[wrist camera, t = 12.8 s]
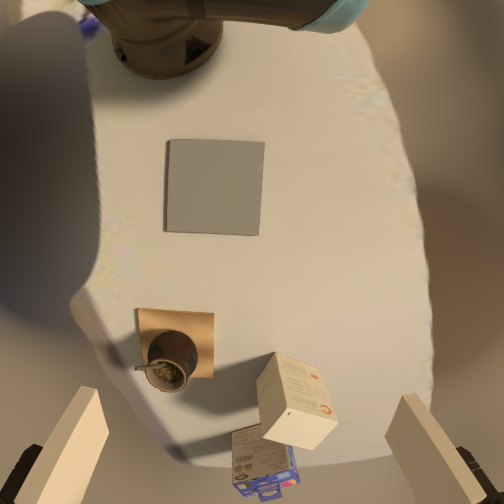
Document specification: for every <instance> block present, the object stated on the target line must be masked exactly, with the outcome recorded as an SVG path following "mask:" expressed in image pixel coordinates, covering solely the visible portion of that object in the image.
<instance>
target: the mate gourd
mask: <svg viewBox="0 0 504 504" xmlns="http://www.w3.org/2000/svg"><path fill="white" fill-rule="evenodd" d="M147 358H148V364H147V365H146V366H136V367H135V371H136V370H143V369H144V370H145V369H146V370H145V374H146V377H147V379H148V381H149V382H150V384H151V385H152V386H154V387H155V388H157V389H159V390H161V391H163V392H177V391H179V390H181V389H183V388H184V387H185V385H186V384H187V380H188V377H189V376H191V375H192V373H193V372H194V371H195V369H196V367H197V363H198V353H197V349H196V346H195V344H194V342H193V340H192V339H191V338H190V337H189V336H188V335H186V334H185V333H183V332H180V331H176V330H171V331H168V332H163V333H161V334H160V335H159V336H157V337H156V338H155V339H154V340H153V341H152V342H151V343H150V346H149V349H148V353H147Z"/></svg>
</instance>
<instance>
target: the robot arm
mask: <svg viewBox="0 0 504 504" xmlns="http://www.w3.org/2000/svg"><path fill="white" fill-rule="evenodd" d="M369 1H370V0H78V2H80V3H81V4H83V5H84V6H85V7H86V8H87V9H88V10H89V11H90V12H91V13H92V14H93V15H94V16H95V17H96V18H97V19H98V20H99V21H100V22H101V23H102V24H103V25H105V26H106V27H107V28H108V29H109V30H110V31H111V34H112V42H113V48H114V51H115V53H116V55H117V57H118V59H119V60H120V61H121V62H122V63H123V64H124V65H125V66H126V67H127V68H128V69H129V70H130V71H132V72H133V73H135V74H137V75H139V76H142V77H145V78H149V79H169V78H174V77H178V76H181V75H184V74H186V73H189V72H191V71H193V70H194V69H196V68H198V67H199V66H201V65H202V64H203V63H204V62H206V61H207V60H208V59H209V58H210V57H211V55H212V54H213V53H214V52H215V50H216V49H217V47H218V45H219V43H220V41H221V38H222V34H223V21H236V22H248V23H258V24H267V25H274V26H282V27H288V29H290V30H292V31H304V30H306V31H312V32H318V33H324V34H331V33H336V32H340V31H343V30H345V29H346V28H348V27H349V26H350V25H352V24H353V23H354V22H355V21H356V20H357V19H358V18H359V16H360V15H361V14H362V12H363V11H364V9H365V8H366V6H367V5H368V3H369ZM108 434H109V431H108V428H107V425H106V421H105V418H104V414H103V411H102V407H101V403H100V400H99V396H98V392H97V389H94V388H89V387H84V386H81V387H80V389H79V390H78V392H77V393H76V395H75V396H74V398H73V400H72V401H71V403H70V404H69V406H68V408H67V409H66V411H65V413H64V414H63V416H62V417H61V419H60V421H59V422H58V424H57V426H56V427H55V429H54V431H53V432H52V434H51V436H50V437H49V439H48V441H47V442H46V444H45V446H44V447H41V446H39V445H36V444H33V445H32V446H30V447H29V448H27V449H26V450H25V451H24V452H23V454H22V455H21V457H20V459H19V462H17V464H16V466H15V469H13V470H12V472H11V474H10V475H9V477H8V479H7V481H6V482H5V484H4V486H3V488H2V490H1V491H0V504H81V501H82V498H83V496H84V493H85V491H86V488H87V486H88V483H89V480H90V478H91V475H92V473H93V470H94V468H95V465H96V463H97V460H98V458H99V455H100V453H101V451H102V448H103V446H104V443H105V441H106V439H107V436H108ZM385 438H386V440H387V442H388V444H389V446H390V448H391V450H392V452H393V454H394V456H395V458H396V460H397V462H398V464H399V466H400V468H401V470H402V472H403V474H404V476H405V478H406V480H407V482H408V484H409V486H410V488H411V490H412V492H413V494H414V496H415V498H416V500H417V502H418V504H504V492H498V491H497V490H496V489H495V488H494V486H493V485H492V483H491V482H490V480H489V479H488V477H487V476H486V474H485V473H484V472H483V470H482V469H480V466H479V464H478V463H477V462H475V459H474V457H473V456H472V455H471V453H470V452H469V451H467V450H466V449H464V448H463V447H461V446H460V447H458V448H455V447H454V446H453V444H452V443H451V441H450V440H449V439H448V437H447V436H446V434H445V433H444V432H443V430H442V429H441V427H440V426H439V425H438V423H437V422H436V420H435V419H434V417H433V416H432V415H431V413H430V412H429V410H428V409H427V408H426V406H425V405H424V404H423V402H422V401H421V399H420V398H419V397H418V395H417V394H416V393H414V394H407V395H402V397H401V400H400V402H399V405H398V407H397V410H396V412H395V414H394V417H393V419H392V422H391V424H390V426H389V428H388V431H387V433H386V435H385Z"/></svg>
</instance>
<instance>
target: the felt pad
mask: <svg viewBox="0 0 504 504" xmlns="http://www.w3.org/2000/svg"><path fill="white" fill-rule="evenodd" d="M264 145H265V143H264V142H249V141H231V140H202V139H170V154H169V174H168V202H167V231H173V232H197V233H219V234H239V235H259V224H260V209H261V193H262V177H263V161H264Z"/></svg>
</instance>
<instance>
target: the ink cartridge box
mask: <svg viewBox="0 0 504 504" xmlns="http://www.w3.org/2000/svg"><path fill="white" fill-rule="evenodd" d="M297 483H300V479H299V475H298V471H297V466H296V462H295V458H294V453H293V448H292V446H291V445H287V444H283V443H279V442H275V441H271V440H268V439H264V438H262V432H261V424H260V425H256V426H253V427H250V428H246V429H243V430H239V431H236V432H232V484H233V485H234V487H235V488H236V489H237V490H239V492H240V493H241V494H242V495H243V496H245V497H248V496H252V495H257V494H258V495H259V498H260V501H261V502H264V501H268V500H272V499H277V498H281V497H282V493H281V488H283V487H287V486H290V485H293V484H297ZM273 490H277V491H278V492H277V493H276V494H274V495H272V496H262V493H265V492H269V491H273Z"/></svg>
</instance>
